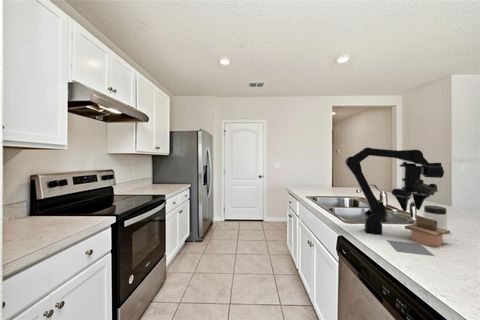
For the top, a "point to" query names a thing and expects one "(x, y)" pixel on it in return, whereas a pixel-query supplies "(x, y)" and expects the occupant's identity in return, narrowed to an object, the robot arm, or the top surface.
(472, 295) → the top surface
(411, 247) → the mat
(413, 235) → the bowl
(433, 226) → the ridged wooden block
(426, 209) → the jar
